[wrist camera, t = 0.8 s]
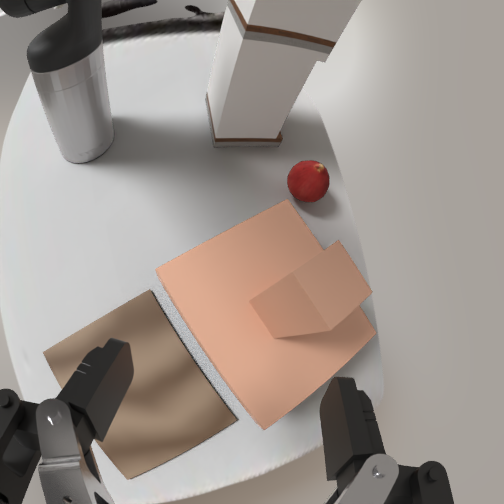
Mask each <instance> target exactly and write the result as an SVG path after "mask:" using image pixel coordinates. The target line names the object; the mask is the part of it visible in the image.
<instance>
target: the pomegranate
mask: <svg viewBox="0 0 504 504" xmlns="http://www.w3.org/2000/svg"><path fill="white" fill-rule="evenodd" d="M287 184H288V188H289V190H290V192H291V194H292V195H293V196H294V197H295V198H297V199H299V200H301V201H304V202H315V201H317V200H319V199H321V198H322V197H323V196H324V195H325V194H326V192H327V190H328V188H329V174H328V172H327V169H326V168H325V167H324V166H323V165H322V164H321V163H319V162H317V161H301V162H299V163H298V164H296V165H295V166H293V168H292V169H291V171H290V173H289V175H288V178H287Z"/></svg>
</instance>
